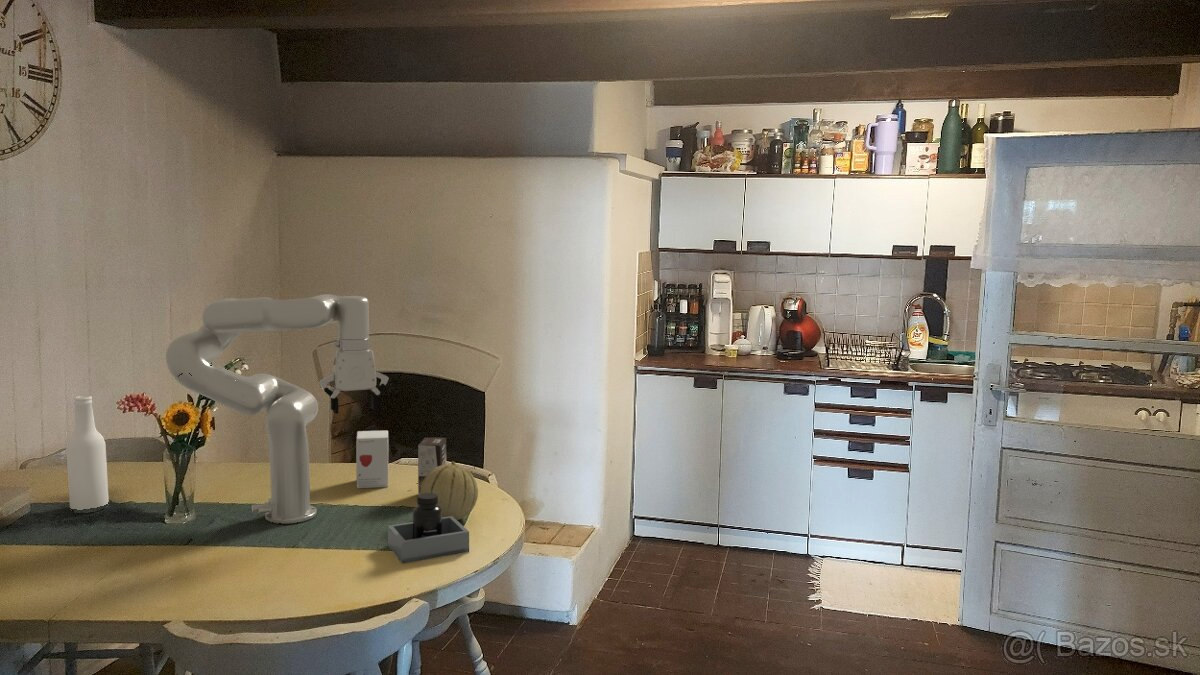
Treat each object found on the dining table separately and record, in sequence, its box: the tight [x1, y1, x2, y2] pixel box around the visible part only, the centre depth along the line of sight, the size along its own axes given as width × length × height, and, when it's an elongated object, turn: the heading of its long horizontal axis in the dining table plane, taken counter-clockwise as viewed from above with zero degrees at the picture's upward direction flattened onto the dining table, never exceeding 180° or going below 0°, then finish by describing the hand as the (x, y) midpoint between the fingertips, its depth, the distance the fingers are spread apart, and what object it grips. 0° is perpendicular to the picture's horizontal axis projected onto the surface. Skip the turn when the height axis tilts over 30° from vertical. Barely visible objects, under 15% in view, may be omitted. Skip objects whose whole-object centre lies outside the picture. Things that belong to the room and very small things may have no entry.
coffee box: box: [417, 437, 447, 496], centre depth 243 cm, size 9×6×16 cm
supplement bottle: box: [412, 493, 442, 539], centre depth 205 cm, size 7×7×12 cm
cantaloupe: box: [420, 460, 479, 521], centre depth 224 cm, size 15×15×15 cm
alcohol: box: [65, 394, 110, 510], centre depth 226 cm, size 9×9×30 cm
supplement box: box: [355, 430, 389, 489], centre depth 254 cm, size 9×9×15 cm
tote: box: [387, 516, 470, 564], centre depth 205 cm, size 16×12×5 cm
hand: (354, 411), depth 222 cm, fingers open, 9 cm apart
